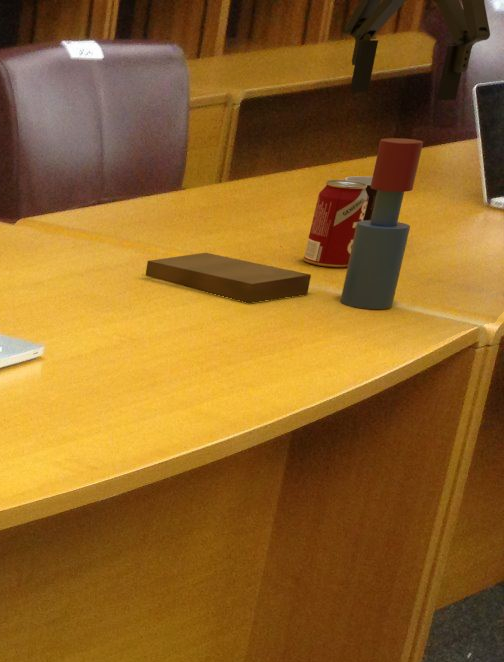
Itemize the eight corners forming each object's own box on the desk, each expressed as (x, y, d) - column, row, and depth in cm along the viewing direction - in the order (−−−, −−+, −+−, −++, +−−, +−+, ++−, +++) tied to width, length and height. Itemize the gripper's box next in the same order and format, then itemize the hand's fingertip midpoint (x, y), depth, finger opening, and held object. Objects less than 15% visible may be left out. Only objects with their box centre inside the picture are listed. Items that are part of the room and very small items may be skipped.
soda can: (308, 269, 226) (328, 185, 220) (297, 259, 232) (317, 177, 226) (356, 272, 225) (377, 188, 219) (344, 262, 231) (364, 180, 225)
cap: (420, 190, 199) (431, 141, 196) (396, 193, 196) (407, 144, 194) (386, 184, 203) (396, 137, 200) (362, 187, 200) (372, 139, 198)
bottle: (402, 305, 205) (429, 190, 198) (371, 311, 202) (397, 194, 196) (360, 296, 210) (384, 183, 203) (329, 302, 207) (353, 187, 201)
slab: (306, 296, 210) (311, 274, 209) (247, 306, 205) (252, 283, 204) (202, 273, 224) (205, 252, 223) (144, 282, 219) (147, 260, 218)
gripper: (336, -80, 204) (305, 89, 213) (506, -84, 183) (464, 104, 192) (376, -80, 206) (344, 87, 216) (548, -84, 186) (505, 101, 195)
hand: (401, 96), depth 204 cm, fingers open, 13 cm apart
